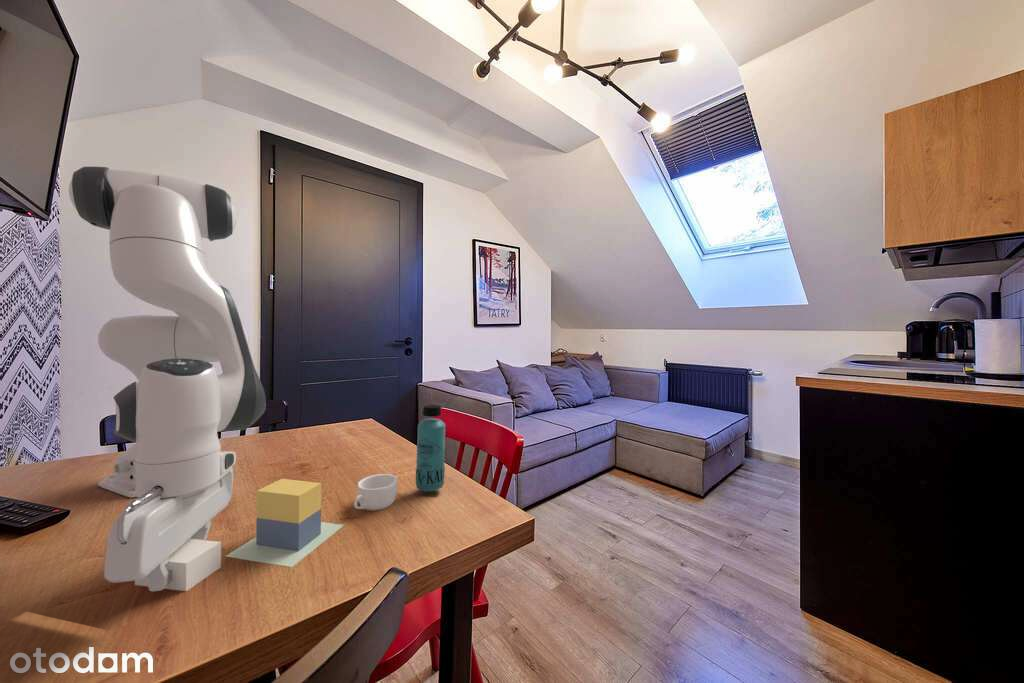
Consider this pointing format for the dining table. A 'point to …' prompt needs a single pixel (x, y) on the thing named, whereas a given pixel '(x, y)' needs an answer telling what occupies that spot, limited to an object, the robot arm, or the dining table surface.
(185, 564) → the cream brick
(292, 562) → the build plate
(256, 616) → the dining table surface
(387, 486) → the teacup
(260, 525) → the navy brick
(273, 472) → the dining table surface
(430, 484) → the beverage bottle
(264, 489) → the mustard brick
